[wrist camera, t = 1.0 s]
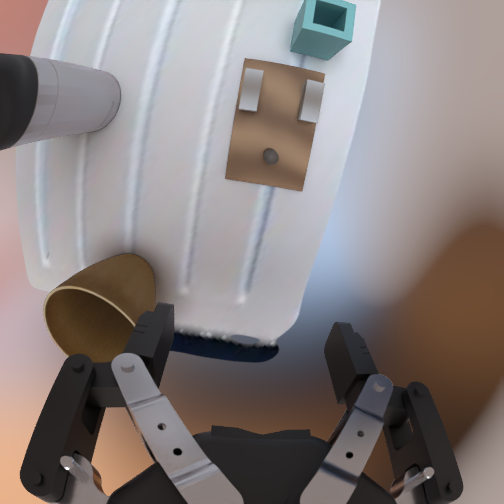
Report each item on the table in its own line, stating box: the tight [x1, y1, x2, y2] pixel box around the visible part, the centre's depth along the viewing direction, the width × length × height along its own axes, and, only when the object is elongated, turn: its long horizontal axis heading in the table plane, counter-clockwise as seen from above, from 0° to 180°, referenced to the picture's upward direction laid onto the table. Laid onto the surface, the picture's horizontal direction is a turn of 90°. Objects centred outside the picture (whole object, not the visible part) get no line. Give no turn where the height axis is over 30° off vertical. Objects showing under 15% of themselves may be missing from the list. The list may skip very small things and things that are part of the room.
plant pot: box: [43, 254, 156, 362], centre depth 34 cm, size 15×15×16 cm
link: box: [290, 0, 356, 60], centre depth 21 cm, size 5×13×10 cm, turn 171°
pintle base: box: [225, 58, 325, 191], centre depth 30 cm, size 16×10×5 cm, turn 171°
